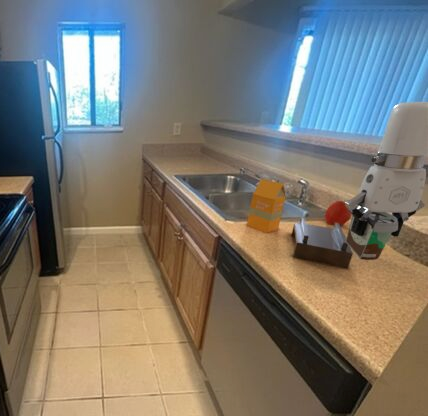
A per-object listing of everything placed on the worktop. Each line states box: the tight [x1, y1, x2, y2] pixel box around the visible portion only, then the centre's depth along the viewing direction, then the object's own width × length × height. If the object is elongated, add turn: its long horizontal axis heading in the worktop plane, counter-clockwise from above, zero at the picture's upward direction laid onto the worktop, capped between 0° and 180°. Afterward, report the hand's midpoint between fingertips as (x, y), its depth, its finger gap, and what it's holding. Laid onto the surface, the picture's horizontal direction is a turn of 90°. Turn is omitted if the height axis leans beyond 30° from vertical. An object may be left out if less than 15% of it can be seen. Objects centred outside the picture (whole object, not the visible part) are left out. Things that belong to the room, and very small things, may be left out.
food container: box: [346, 205, 398, 261], centre depth 67 cm, size 12×6×10 cm, turn 157°
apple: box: [324, 200, 352, 227], centre depth 113 cm, size 8×8×11 cm
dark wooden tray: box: [291, 217, 354, 270], centre depth 94 cm, size 14×19×8 cm
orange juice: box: [246, 178, 287, 234], centre depth 109 cm, size 8×9×20 cm
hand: (373, 233), depth 67 cm, fingers closed on food container, 6 cm apart
